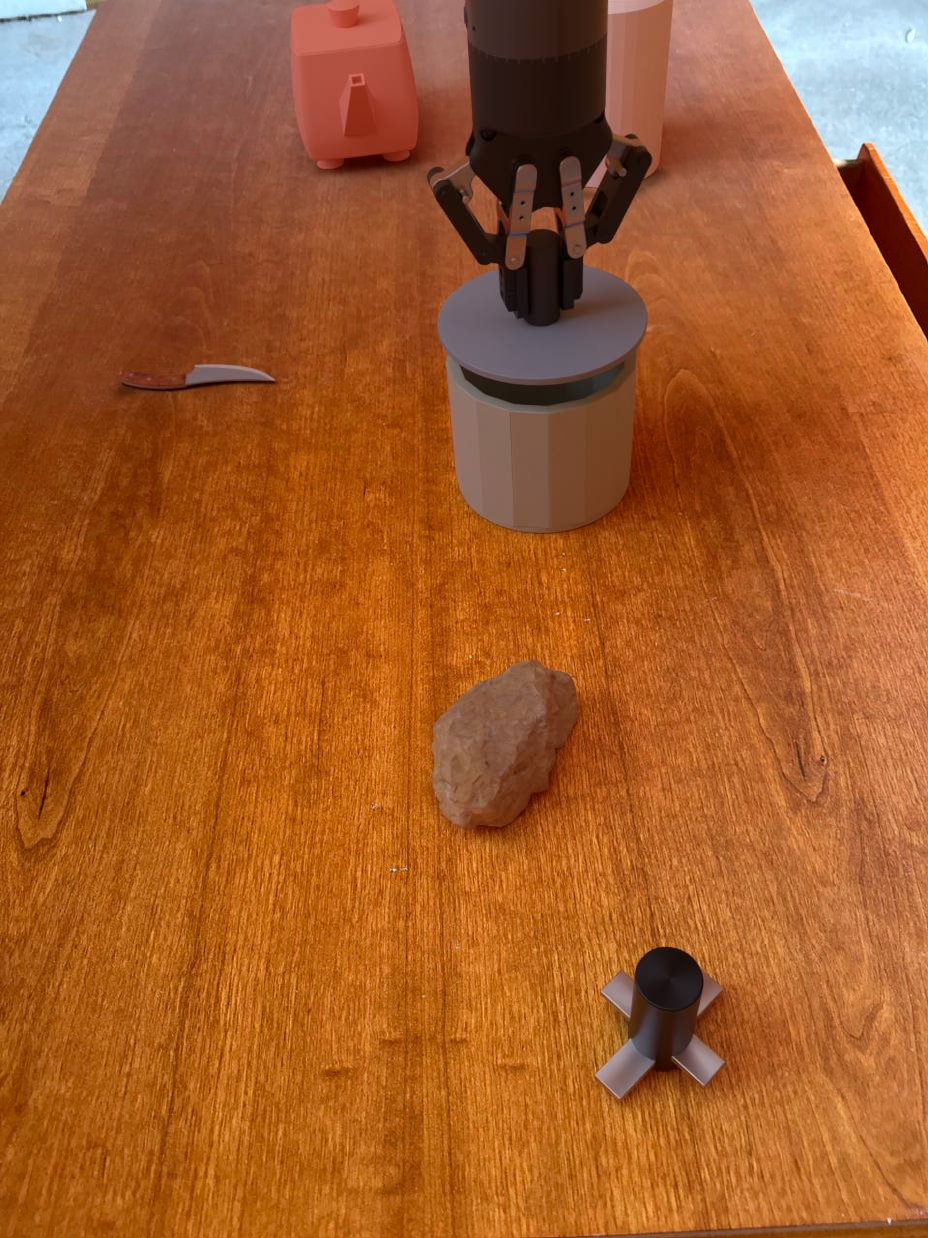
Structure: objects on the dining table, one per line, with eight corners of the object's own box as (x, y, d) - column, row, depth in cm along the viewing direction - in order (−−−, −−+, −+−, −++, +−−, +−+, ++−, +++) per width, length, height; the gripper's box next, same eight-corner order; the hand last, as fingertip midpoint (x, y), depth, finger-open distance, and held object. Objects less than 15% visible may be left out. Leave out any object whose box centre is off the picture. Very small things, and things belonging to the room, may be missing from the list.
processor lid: (609, 261, 80) (612, 170, 75) (676, 369, 71) (685, 274, 66) (420, 295, 79) (410, 205, 74) (464, 411, 69) (456, 317, 65)
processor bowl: (599, 407, 89) (603, 288, 81) (653, 512, 80) (663, 390, 73) (441, 438, 87) (430, 320, 80) (480, 548, 79) (471, 428, 71)
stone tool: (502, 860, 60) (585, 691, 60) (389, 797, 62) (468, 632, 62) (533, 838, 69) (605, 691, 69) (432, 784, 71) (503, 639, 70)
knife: (278, 358, 95) (274, 379, 93) (280, 364, 95) (275, 385, 93) (121, 364, 95) (113, 386, 93) (123, 370, 96) (115, 392, 94)
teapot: (431, 187, 114) (418, 39, 104) (305, 202, 114) (280, 55, 103) (411, 95, 129) (398, -43, 119) (299, 108, 129) (276, -29, 118)
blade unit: (659, 946, 59) (669, 877, 53) (761, 1033, 55) (782, 969, 50) (556, 1048, 55) (556, 986, 50) (658, 1148, 52) (669, 1092, 47)
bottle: (656, 130, 120) (674, -148, 101) (668, 185, 112) (689, -106, 93) (543, 136, 120) (540, -140, 102) (546, 191, 112) (544, -97, 94)
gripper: (423, 71, 58) (449, 360, 70) (686, 28, 59) (664, 319, 72) (396, 18, 63) (424, 297, 75) (638, -20, 64) (626, 259, 77)
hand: (541, 306), depth 73 cm, fingers closed on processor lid, 2 cm apart
